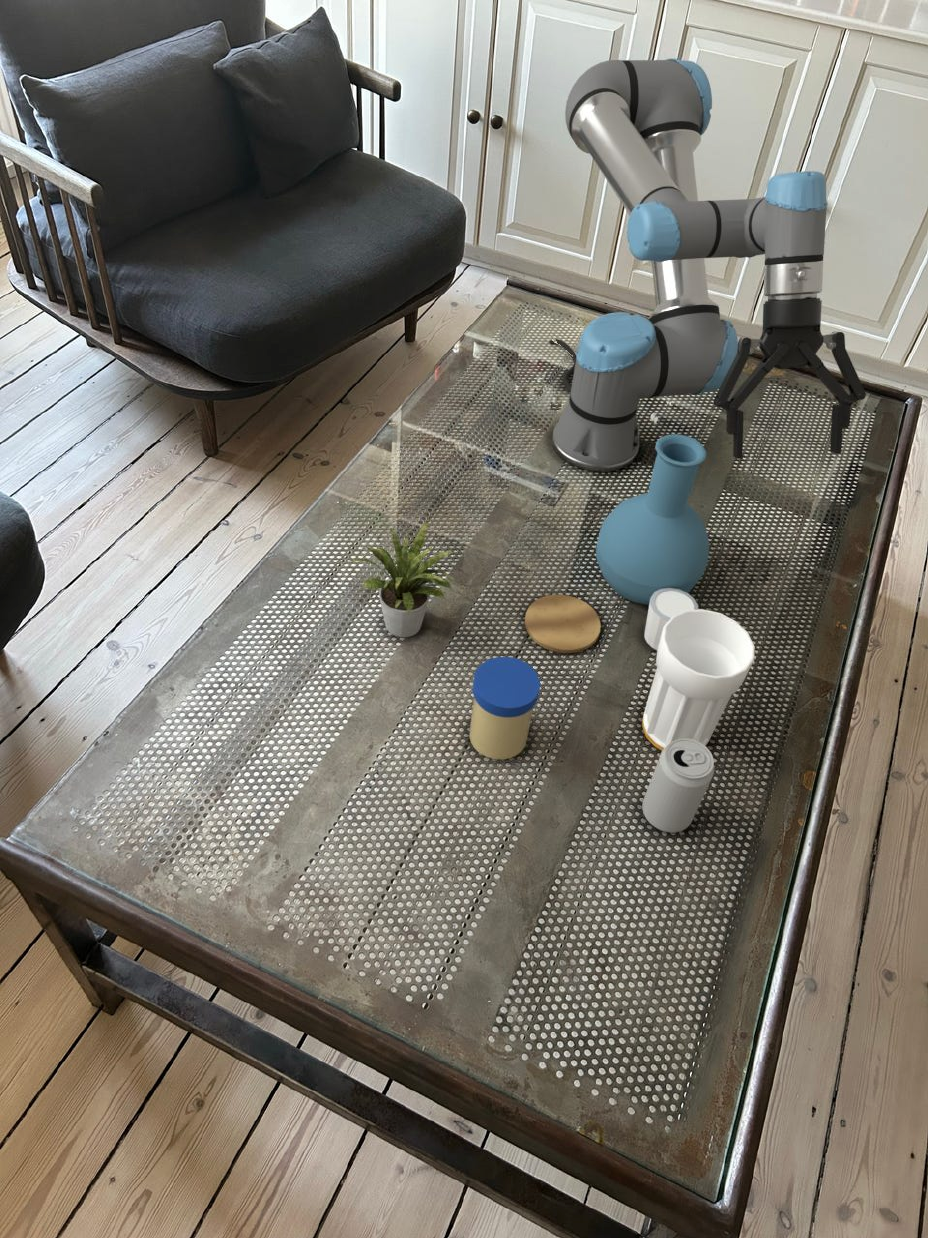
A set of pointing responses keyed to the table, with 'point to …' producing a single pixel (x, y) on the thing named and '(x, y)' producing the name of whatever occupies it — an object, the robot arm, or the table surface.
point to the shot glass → (665, 611)
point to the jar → (498, 733)
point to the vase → (657, 529)
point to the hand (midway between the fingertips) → (786, 455)
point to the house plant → (406, 584)
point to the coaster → (562, 623)
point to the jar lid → (506, 686)
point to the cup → (695, 676)
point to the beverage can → (678, 785)
